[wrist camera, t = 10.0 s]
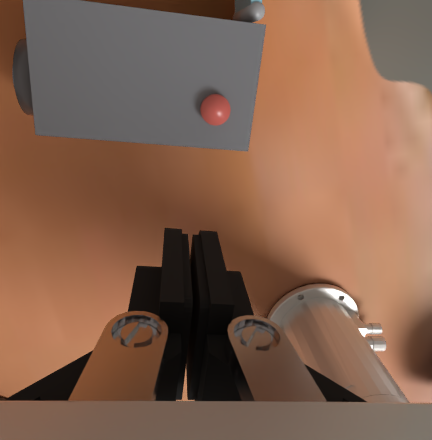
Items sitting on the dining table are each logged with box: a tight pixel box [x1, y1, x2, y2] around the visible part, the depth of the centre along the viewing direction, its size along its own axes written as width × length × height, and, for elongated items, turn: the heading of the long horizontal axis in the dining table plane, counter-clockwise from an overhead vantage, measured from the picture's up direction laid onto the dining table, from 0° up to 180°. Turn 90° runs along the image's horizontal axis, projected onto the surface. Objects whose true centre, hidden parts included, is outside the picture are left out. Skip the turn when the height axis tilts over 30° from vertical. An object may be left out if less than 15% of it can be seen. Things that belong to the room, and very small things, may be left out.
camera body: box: [13, 0, 266, 151], centre depth 30 cm, size 18×9×10 cm, turn 84°
